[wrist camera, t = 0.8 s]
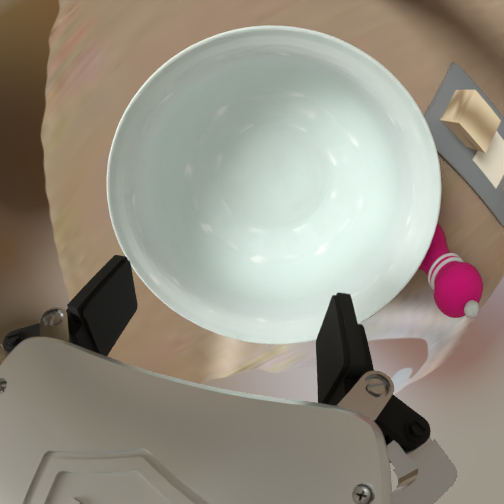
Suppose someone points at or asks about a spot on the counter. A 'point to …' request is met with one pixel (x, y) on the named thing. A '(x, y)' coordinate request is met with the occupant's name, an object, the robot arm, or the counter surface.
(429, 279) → the pepper mill
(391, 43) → the counter surface
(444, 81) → the board
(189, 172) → the bowl
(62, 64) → the counter surface
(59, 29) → the counter surface
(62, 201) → the counter surface
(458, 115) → the maple block
